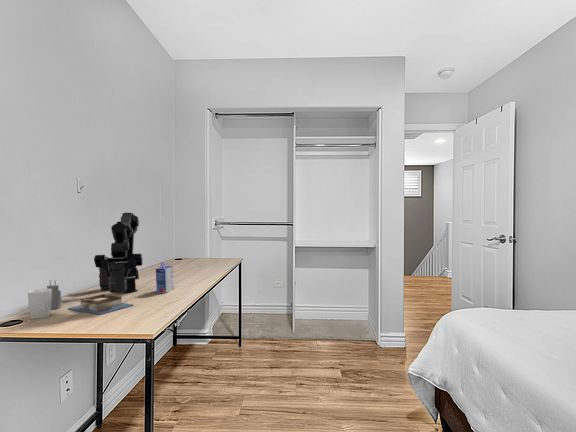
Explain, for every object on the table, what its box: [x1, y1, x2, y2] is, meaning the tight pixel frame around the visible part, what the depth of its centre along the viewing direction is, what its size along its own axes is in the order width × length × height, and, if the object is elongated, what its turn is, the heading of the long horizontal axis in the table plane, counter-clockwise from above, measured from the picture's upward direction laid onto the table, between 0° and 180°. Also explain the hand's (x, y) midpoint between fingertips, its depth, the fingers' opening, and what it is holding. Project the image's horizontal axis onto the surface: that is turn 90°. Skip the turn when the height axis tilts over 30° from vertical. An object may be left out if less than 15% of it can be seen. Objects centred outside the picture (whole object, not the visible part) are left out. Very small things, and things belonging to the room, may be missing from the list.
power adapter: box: [46, 280, 62, 311], centre depth 156 cm, size 3×5×12 cm, turn 100°
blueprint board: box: [67, 302, 135, 316], centre depth 157 cm, size 20×16×1 cm
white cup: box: [27, 287, 52, 319], centre depth 144 cm, size 8×8×10 cm
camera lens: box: [98, 262, 114, 292], centre depth 194 cm, size 8×8×15 cm
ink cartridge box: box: [155, 261, 175, 294], centre depth 189 cm, size 10×6×14 cm, turn 174°
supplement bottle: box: [108, 263, 127, 294], centre depth 157 cm, size 7×7×12 cm
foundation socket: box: [80, 293, 123, 311], centre depth 157 cm, size 11×11×4 cm
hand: (116, 276), depth 156 cm, fingers closed on supplement bottle, 7 cm apart
